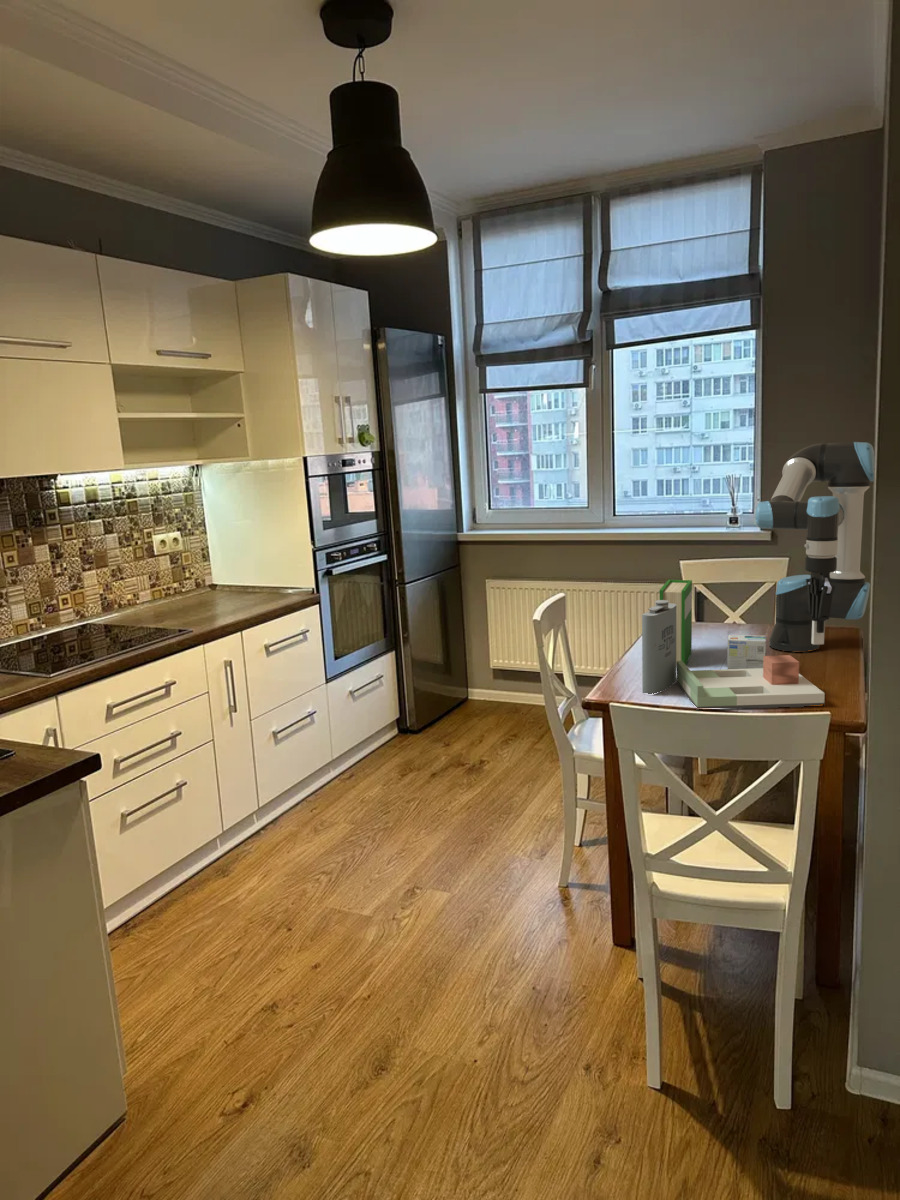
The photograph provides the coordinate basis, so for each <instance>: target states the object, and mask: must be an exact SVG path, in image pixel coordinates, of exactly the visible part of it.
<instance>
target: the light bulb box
mask: <svg viewBox="0 0 900 1200" xmlns="http://www.w3.org/2000/svg"><path fill="white" fill-rule="evenodd" d="M764 656H767V640H766V635H758V634H757V635H753V634H751V635H750V634H749V635H748V634H728V636H727V669H753V668H763V658H764Z"/></svg>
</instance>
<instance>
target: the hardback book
mask: <svg viewBox="0 0 900 1200" xmlns="http://www.w3.org/2000/svg"><path fill="white" fill-rule="evenodd" d="M659 600H667V601H669V603H672V604H676V666H677V661H683V662H684V664H685V665H686V666H687V664H688V662H689V659H690V657H691V655H692V653H693V652H692V646H693V644H692V641H693V639H692V635H693V633H692V631H693V629H692V628H693V627H692V625H693V623H692V622H693V620H692V619H693V580H692V579H688V580H687V579H686V580H685V579H667V581H665V583H664V584H663V585H662V586H661V588H660V589H659Z"/></svg>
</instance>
